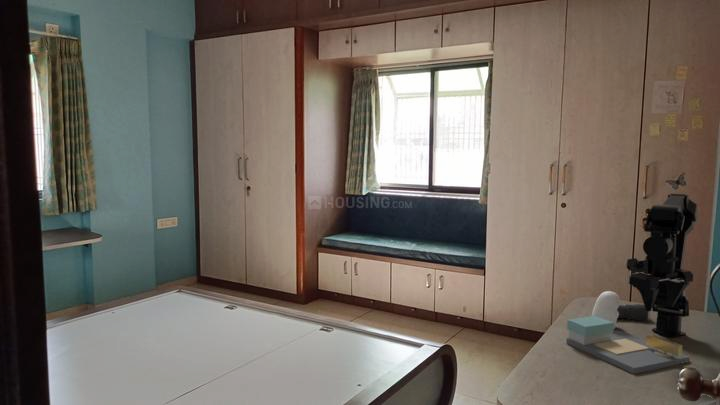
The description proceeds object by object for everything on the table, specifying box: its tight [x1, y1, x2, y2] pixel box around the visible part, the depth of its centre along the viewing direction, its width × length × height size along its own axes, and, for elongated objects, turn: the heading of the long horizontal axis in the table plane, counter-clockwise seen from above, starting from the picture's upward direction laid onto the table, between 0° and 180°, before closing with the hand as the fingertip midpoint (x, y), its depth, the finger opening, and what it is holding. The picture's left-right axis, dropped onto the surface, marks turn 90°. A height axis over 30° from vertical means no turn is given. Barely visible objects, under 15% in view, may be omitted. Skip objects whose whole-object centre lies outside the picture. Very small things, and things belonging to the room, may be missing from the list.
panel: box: [565, 329, 690, 375], centre depth 138 cm, size 20×22×4 cm
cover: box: [566, 315, 615, 337], centre depth 143 cm, size 10×7×3 cm, turn 112°
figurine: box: [591, 290, 621, 330], centre depth 157 cm, size 7×8×12 cm
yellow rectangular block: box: [646, 333, 683, 357], centre depth 133 cm, size 2×9×4 cm, turn 22°
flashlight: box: [617, 303, 651, 322], centre depth 166 cm, size 15×5×5 cm, turn 78°
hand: (659, 308), depth 138 cm, fingers open, 9 cm apart
